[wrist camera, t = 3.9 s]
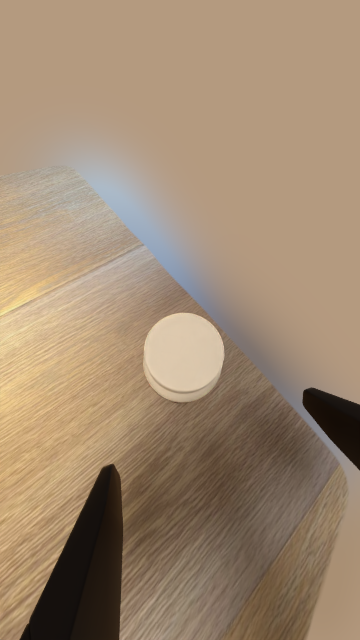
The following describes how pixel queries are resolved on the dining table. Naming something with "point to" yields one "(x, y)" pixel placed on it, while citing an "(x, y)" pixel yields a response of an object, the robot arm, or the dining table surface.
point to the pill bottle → (183, 357)
